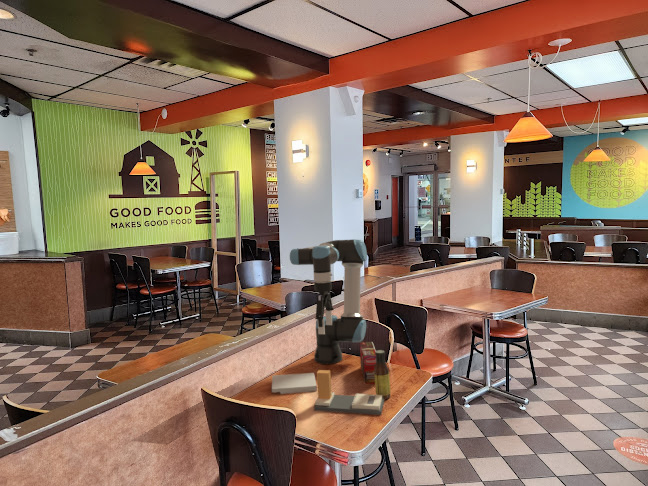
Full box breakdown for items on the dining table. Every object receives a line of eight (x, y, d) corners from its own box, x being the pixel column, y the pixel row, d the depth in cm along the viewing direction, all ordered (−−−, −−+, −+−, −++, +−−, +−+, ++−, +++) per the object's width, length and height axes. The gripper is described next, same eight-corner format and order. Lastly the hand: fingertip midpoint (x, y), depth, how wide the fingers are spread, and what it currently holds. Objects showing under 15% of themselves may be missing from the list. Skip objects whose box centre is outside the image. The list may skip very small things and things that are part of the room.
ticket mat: (321, 397, 186) (321, 390, 186) (384, 401, 180) (384, 393, 179) (314, 410, 175) (314, 403, 175) (380, 414, 168) (380, 407, 168)
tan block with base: (321, 394, 185) (319, 366, 184) (334, 395, 184) (333, 367, 183) (315, 405, 176) (313, 376, 175) (329, 405, 174) (327, 376, 173)
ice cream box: (379, 383, 197) (377, 355, 196) (365, 384, 197) (363, 356, 196) (373, 367, 217) (372, 341, 216) (360, 368, 217) (359, 342, 216)
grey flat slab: (314, 379, 208) (272, 382, 206) (314, 372, 208) (272, 375, 206) (316, 393, 194) (272, 396, 192) (316, 385, 193) (271, 389, 191)
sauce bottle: (393, 396, 184) (391, 351, 182) (384, 401, 179) (382, 355, 178) (381, 392, 188) (379, 348, 187) (372, 397, 184) (370, 352, 182)
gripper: (324, 287, 173) (327, 338, 175) (337, 276, 197) (339, 321, 199) (306, 287, 175) (309, 337, 177) (321, 276, 199) (324, 321, 201)
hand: (325, 329), depth 188 cm, fingers open, 13 cm apart
